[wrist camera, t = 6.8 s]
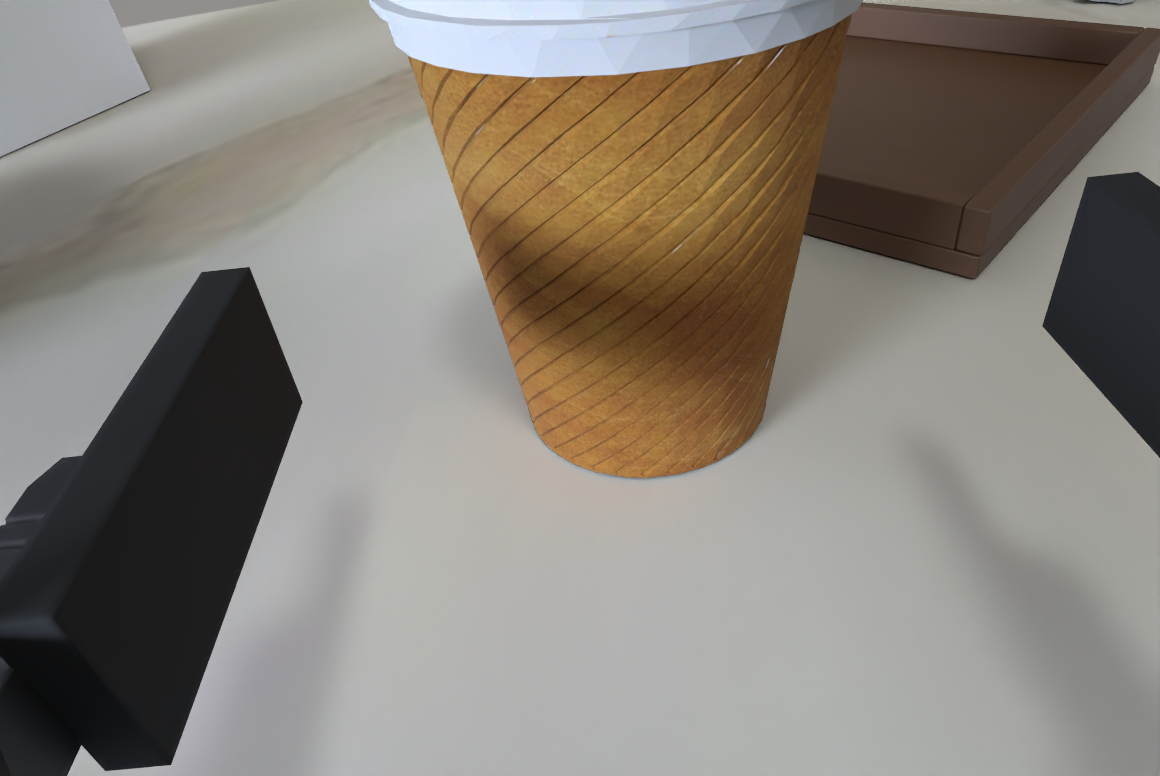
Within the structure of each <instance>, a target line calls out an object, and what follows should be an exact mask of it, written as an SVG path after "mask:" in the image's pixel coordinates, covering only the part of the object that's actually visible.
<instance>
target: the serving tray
mask: <svg viewBox="0 0 1160 776" xmlns="http://www.w3.org/2000/svg"><path fill="white" fill-rule="evenodd" d="M1159 52H1160V29H1156V28H1146V29H1145V30H1144V28H1143V27H1133V26H1122V25H1111V24H1100V23H1088V22H1077V21H1066V20H1054V19H1043V18H1032V17H1021V16H1009V15H998V14H987V13H975V12H964V11H953V10H942V9H930V8H919V7H908V6H896V5H885V4H874V3H863V2H862V3H861V5H860V7H859V8H858V10H856V11H855V12H853V13H852V18H851V22H850V26H849V29H848V32H847V37H846V41H845V47H844V52H843V56H842V60H841V65H840V69H839V74H838V78H837V84H836V88H835V92H834V97H833V101H832V105H831V110H830V115H829V119H828V124H827V128H826V132H825V137H824V142H823V147H822V151H821V155H820V160H819V164H818V168H817V174H816V178H815V182H814V187H813V191H812V195H811V201H810V205H809V210H808V214H807V218H806V222H805V228H804V233H806V234H809V235H813V236H817V237H821V238H824V239H828V240H832V241H835V242H839V243H843V244H846V245H850V246H854V247H858V248H861V249H865V250H869V251H872V252H876V253H880V254H884V255H887V256H891V257H895V258H898V259H902V260H906V261H909V262H913V263H917V264H921V265H924V266H928V267H932V268H935V269H939V270H943V271H947V272H950V273H954V274H958V275H961V276H965V277H969V278H972V279H975V278H976V277H977V276H978V275H979V274H980V273H981V272H982V271H983V269H984V268H985V267H986V266H987V265H988V264H989V263H990V262H991V260H992V259H993V258H994V257H995V256H996V255H997V254H998V253H999V251H1000V250H1001V249H1002V248H1003V247H1004V246H1005V245H1006V244H1007V242H1008V241H1009V240H1010V239H1011V238H1012V237H1013V236H1014V235H1015V233H1016V232H1017V231H1018V230H1019V229H1020V228H1021V227H1022V226H1023V224H1024V223H1025V222H1026V221H1027V220H1028V219H1029V218H1030V217H1031V215H1032V214H1033V213H1034V212H1035V211H1036V210H1037V209H1038V208H1039V206H1040V205H1041V204H1042V203H1043V202H1044V201H1045V200H1046V199H1047V197H1048V196H1049V195H1050V194H1051V193H1052V192H1053V191H1054V190H1055V188H1056V187H1057V186H1058V185H1059V184H1060V183H1061V182H1062V181H1063V179H1064V178H1065V177H1066V176H1067V175H1068V174H1069V173H1070V172H1071V170H1072V169H1073V168H1074V167H1075V166H1076V165H1077V164H1078V163H1079V161H1080V160H1081V159H1082V158H1083V157H1084V156H1085V155H1086V154H1087V152H1088V151H1089V150H1090V149H1091V148H1092V147H1093V146H1094V145H1095V143H1096V142H1097V141H1098V140H1099V139H1100V138H1101V137H1102V136H1103V134H1104V133H1105V132H1106V131H1107V130H1108V129H1109V128H1110V127H1111V125H1112V124H1113V123H1114V122H1115V121H1116V120H1117V119H1118V118H1119V116H1120V115H1121V114H1122V113H1123V112H1124V111H1125V110H1126V109H1127V107H1128V106H1129V105H1130V104H1131V103H1132V102H1133V101H1134V100H1135V98H1136V97H1137V96H1138V95H1139V94H1140V93H1141V92H1142V91H1143V89H1144V88H1145V87H1146V86H1147V85H1148V84H1149V82H1150V79H1151V76H1152V73H1153V70H1154V65H1155V64H1156V61H1157V58H1158V55H1159Z"/></svg>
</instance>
